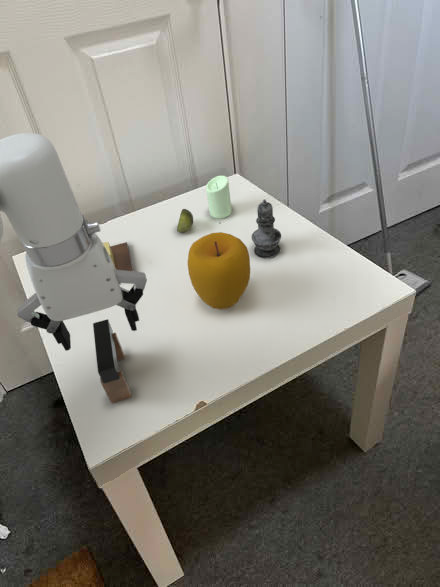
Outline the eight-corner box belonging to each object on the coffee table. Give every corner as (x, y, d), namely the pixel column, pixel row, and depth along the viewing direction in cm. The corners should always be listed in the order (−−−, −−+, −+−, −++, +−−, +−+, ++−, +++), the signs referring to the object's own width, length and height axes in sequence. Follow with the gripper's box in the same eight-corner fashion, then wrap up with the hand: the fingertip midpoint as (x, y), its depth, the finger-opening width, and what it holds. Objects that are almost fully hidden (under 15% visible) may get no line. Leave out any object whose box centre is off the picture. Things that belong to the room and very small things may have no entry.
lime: (180, 238, 99) (176, 219, 95) (172, 227, 102) (167, 208, 99) (198, 231, 100) (195, 212, 96) (190, 220, 103) (186, 201, 100)
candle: (216, 221, 102) (211, 189, 96) (206, 211, 105) (201, 179, 100) (235, 213, 103) (232, 181, 98) (225, 203, 107) (221, 172, 101)
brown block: (111, 403, 70) (100, 382, 66) (105, 359, 77) (95, 337, 73) (131, 397, 71) (122, 375, 67) (124, 354, 77) (115, 332, 73)
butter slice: (105, 270, 92) (100, 257, 90) (103, 257, 95) (98, 244, 93) (115, 267, 93) (110, 254, 90) (113, 254, 96) (108, 241, 93)
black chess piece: (247, 247, 94) (243, 197, 86) (272, 237, 95) (270, 187, 87) (261, 263, 90) (257, 211, 82) (287, 252, 91) (286, 201, 83)
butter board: (64, 295, 90) (62, 292, 89) (63, 262, 97) (61, 258, 97) (134, 277, 91) (133, 273, 91) (127, 245, 99) (126, 242, 98)
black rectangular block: (113, 404, 70) (97, 372, 64) (107, 355, 77) (92, 323, 71) (128, 399, 70) (114, 367, 65) (121, 351, 77) (107, 318, 72)
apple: (265, 303, 82) (261, 247, 73) (211, 329, 79) (201, 273, 70) (234, 270, 89) (228, 215, 80) (185, 292, 86) (172, 238, 77)
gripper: (124, 205, 58) (154, 300, 70) (-13, 241, 56) (41, 332, 68) (132, 239, 53) (163, 335, 65) (-19, 279, 51) (41, 370, 63)
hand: (101, 333), depth 67 cm, fingers open, 9 cm apart
